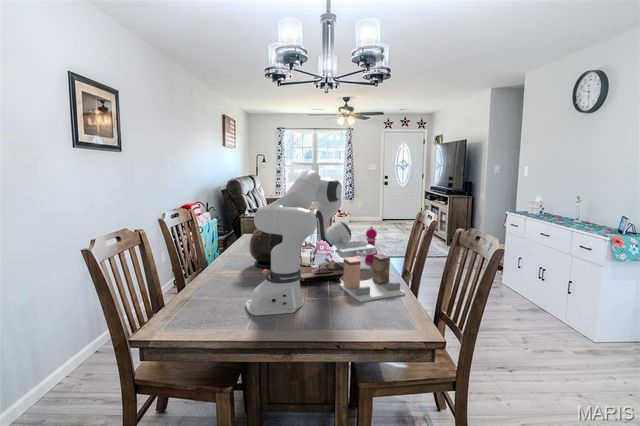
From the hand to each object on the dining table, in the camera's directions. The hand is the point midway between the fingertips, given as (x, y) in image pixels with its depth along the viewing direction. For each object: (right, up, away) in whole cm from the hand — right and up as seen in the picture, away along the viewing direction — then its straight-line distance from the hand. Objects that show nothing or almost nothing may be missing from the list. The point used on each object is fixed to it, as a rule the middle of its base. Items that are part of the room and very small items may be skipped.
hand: (364, 255), depth 177 cm
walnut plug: (+6, -11, -14) cm, 18 cm away
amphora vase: (-49, -7, +16) cm, 52 cm away
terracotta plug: (-8, -11, -19) cm, 24 cm away
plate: (+1, -13, -20) cm, 24 cm away
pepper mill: (+7, -6, +24) cm, 26 cm away
